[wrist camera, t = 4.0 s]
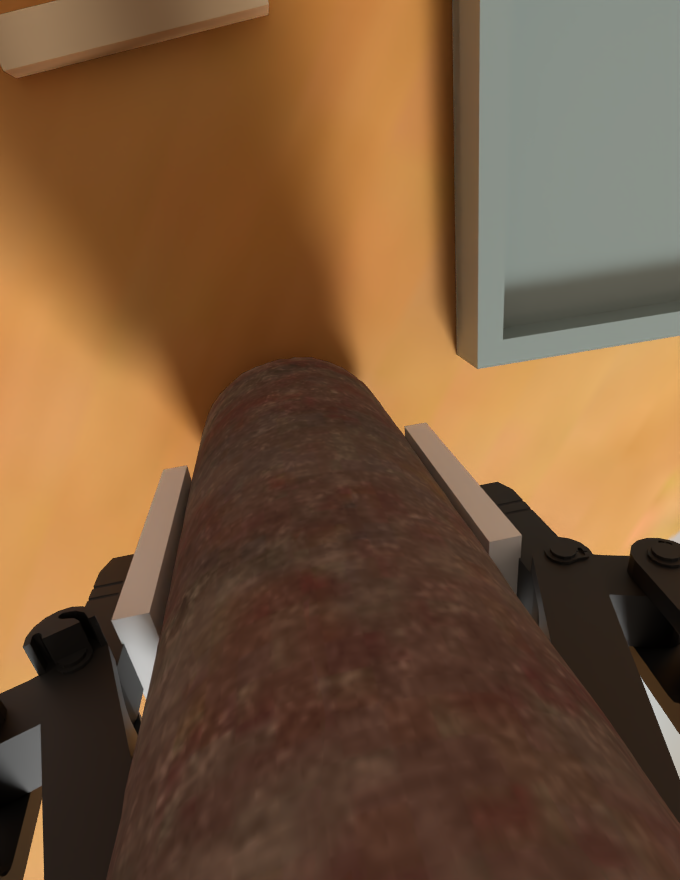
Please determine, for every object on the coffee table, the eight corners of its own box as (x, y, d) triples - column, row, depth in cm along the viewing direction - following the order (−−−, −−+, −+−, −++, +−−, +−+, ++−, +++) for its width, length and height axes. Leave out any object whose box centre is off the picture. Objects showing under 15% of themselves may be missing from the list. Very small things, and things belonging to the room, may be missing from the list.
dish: (456, 354, 21) (477, 368, 19) (450, -93, 15) (481, -142, 13) (752, 306, 22) (801, 315, 20) (859, -125, 16) (944, -173, 14)
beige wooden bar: (21, 80, 15) (3, 71, 14) (0, 33, 15) (-20, 19, 14) (268, 18, 15) (269, 4, 14) (256, -31, 15) (256, -49, 14)
